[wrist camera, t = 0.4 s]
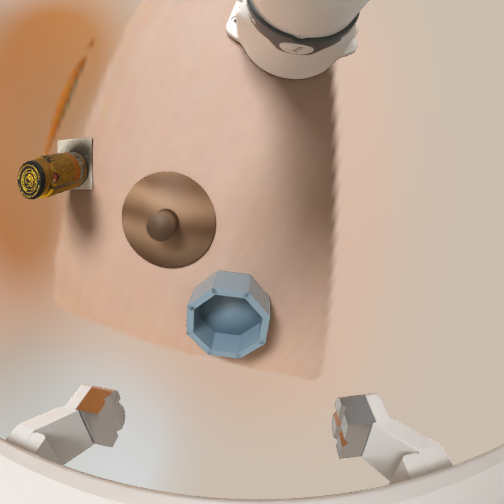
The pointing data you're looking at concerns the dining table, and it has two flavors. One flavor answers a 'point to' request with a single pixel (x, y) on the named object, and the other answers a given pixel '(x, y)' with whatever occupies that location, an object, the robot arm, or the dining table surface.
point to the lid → (168, 219)
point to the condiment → (58, 170)
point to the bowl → (228, 315)
